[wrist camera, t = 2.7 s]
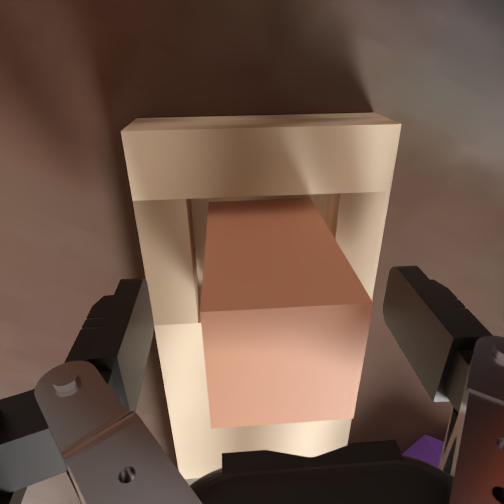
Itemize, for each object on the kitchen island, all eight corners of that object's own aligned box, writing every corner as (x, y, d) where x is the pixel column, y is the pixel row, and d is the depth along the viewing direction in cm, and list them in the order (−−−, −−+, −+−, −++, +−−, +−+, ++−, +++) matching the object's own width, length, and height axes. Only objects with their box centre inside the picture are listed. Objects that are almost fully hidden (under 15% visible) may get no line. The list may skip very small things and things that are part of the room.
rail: (374, 112, 15) (401, 124, 12) (322, 498, 27) (331, 538, 25) (136, 118, 14) (120, 131, 12) (195, 509, 26) (192, 551, 24)
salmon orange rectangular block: (310, 198, 15) (373, 302, 9) (304, 283, 17) (353, 418, 11) (208, 201, 15) (200, 312, 9) (214, 287, 17) (211, 428, 10)
